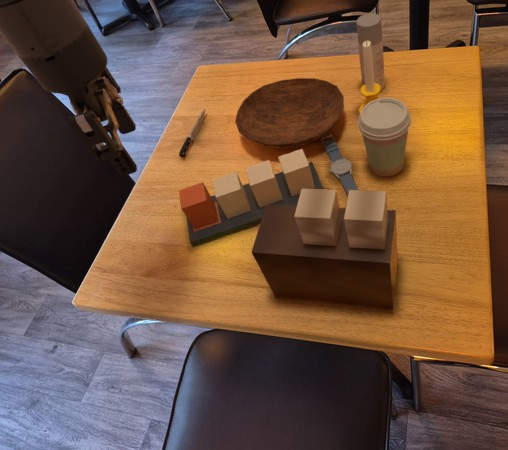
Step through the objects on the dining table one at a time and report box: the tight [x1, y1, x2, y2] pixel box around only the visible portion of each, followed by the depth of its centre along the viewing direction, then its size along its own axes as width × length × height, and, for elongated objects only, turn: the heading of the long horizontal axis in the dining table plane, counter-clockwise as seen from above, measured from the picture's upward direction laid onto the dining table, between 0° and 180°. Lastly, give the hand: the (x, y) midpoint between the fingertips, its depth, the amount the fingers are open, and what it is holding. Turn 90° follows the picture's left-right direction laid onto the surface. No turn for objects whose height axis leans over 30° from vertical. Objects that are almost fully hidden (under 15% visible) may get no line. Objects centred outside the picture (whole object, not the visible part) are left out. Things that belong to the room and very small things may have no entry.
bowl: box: [234, 77, 345, 149], centre depth 88 cm, size 20×22×5 cm
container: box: [356, 12, 386, 93], centre depth 87 cm, size 5×5×15 cm
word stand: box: [250, 188, 399, 310], centre depth 60 cm, size 18×8×19 cm, turn 78°
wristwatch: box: [320, 134, 359, 196], centre depth 80 cm, size 4×20×1 cm, turn 15°
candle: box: [358, 40, 381, 114], centre depth 83 cm, size 5×5×16 cm
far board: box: [185, 148, 324, 248], centre depth 77 cm, size 9×25×8 cm, turn 105°
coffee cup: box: [357, 97, 412, 177], centre depth 75 cm, size 8×8×12 cm
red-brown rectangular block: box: [178, 181, 219, 229], centre depth 76 cm, size 4×4×6 cm
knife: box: [178, 108, 206, 159], centre depth 94 cm, size 15×1×2 cm, turn 166°
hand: (129, 150), depth 57 cm, fingers open, 8 cm apart
